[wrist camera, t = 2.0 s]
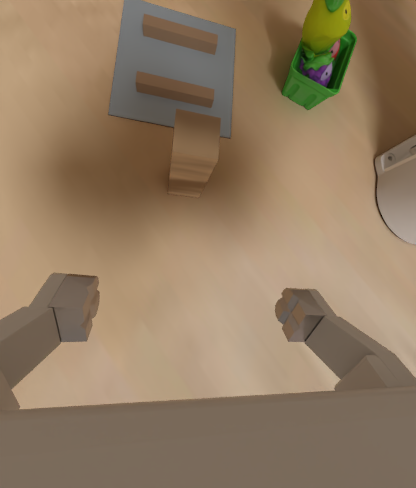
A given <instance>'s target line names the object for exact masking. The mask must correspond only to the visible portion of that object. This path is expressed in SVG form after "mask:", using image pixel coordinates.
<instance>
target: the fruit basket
mask: <svg viewBox="0 0 416 488" xmlns="http://www.w3.org/2000/svg"><path fill="white" fill-rule="evenodd" d="M350 23H351V6H350V2H349V0H314V1H313V4H312V6H311V8H310V10H309V12H308V14H307V16H306V18H305V21H304V24H303V29H302V39H301V41H300V44H299V46H298V49H297V51H296V53H295V56H294V58H293V60H292V63H291V66H290V71H289V74H288V77H287V80H286V82H285V85H284V88H283V90H282V95H284V96H286V97H287V96H288V98H289V99H290V100H292V101H294V102H296V103H297V104H299V105H301V106H304V107H305V108H306V109H307V110H309V109H311V108H313V107H314V106H316V105H317V104H319V103H321V102H322V101H324V100H325V99H327V98H329V97H332V96H334V95H336V94H337V93H339V91H340V88H341V85H342V82H343V79H344V76H345V73H346V70H347V67H348V64H349V62H350V59H351V56H352V53H353V50H354V47H355V45H356V42H357V37H356V35H355V34H354V33H353V32H352V31H350V30H349V26H350Z"/></svg>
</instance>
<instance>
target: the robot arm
mask: <svg viewBox="0 0 416 488" xmlns="http://www.w3.org/2000/svg"><path fill="white" fill-rule="evenodd" d="M375 167H376V171H377V175H378V183H377V201H378V206H379V209H380V212H381V214H382V217H383V219H384V220H385V222H386V224H387V225H388V227H389V228H390V229H391V230H392V231H393V232H394V233H395V234H396V235H397V236H398V237H399V238H401V239H402V240H404V241H406V242H408V243H411V244H415V245H416V134H415V135H414V136H412V137H410V138H409V139H407V140H405V141H403V142H402V143H400V144H398V145H397V146H395V147H393V148H391V149H390V150H388V151H386V152H384V153H383V154H381V155H379V156H378V157H376V159H375ZM98 285H99V280H98V277H97V276H89V275H78V274H62V273H53V274H51V275H50V276H49V278H48V279H47V280H46V282H45V283H44V285H43V286H42V288H41V289H40V291H39V292H38V294H37V295H36V297H35V298H34V300H33V301H32V303H31V304H30V306H29V307H22V308H21V309H19V310H17V311H15V312H14V313H12V314H10V315H8V316H7V317H5V318H3V319H1V320H0V488H416V378H415V377H414V376H413V375H412V374H411V372H410V371H409V370H408V369H407V368H406V367H405V365H404V364H403V363H402V362H401V361H400V360H399V358H398V357H397V356H396V355H395V354H394V353H392V352H391V351H390V350H388V349H387V348H385V347H384V346H382V345H381V344H379V343H378V342H376V341H375V340H373V339H372V338H370V337H369V336H368V335H366V334H365V333H363V332H362V331H360V330H359V329H357V328H356V327H354V326H353V325H351V324H350V323H348V322H347V321H346V320H344V319H343V318H341V317H337V316H336V314H335V313H334V312H333V310H332V309H331V308H330V306H329V305H328V304H327V302H326V301H325V300H324V298H323V297H322V296H321V294H320V293H319V292H318V291H317V290H315V289H297V288H286V289H284V290H283V292H282V298H281V299H279V300H278V301H277V303H276V305H275V313H276V317H277V319H278V321H280V322H281V323H282V324H283V326H282V330H283V332H284V334H285V336H286V338H287V340H288V342H305V344H306V345H307V346H308V347H309V348H310V349H311V350H312V351H313V352H314V353H315V354H316V355H317V356H318V357H319V358H320V359H321V360H322V361H323V362H324V363H325V364H326V365H327V366H328V367H329V368H330V369H331V370H332V371H333V372H334V373H335V374H336V375H337V376H338V377H339V378H340V379H341V380H340V381H339V382H338V383H337V384H336V385H335V388H334V389H335V391H320V392H303V393H286V394H269V395H252V396H235V397H219V398H202V399H185V400H169V401H152V402H135V403H119V404H102V405H85V406H68V407H52V408H35V409H19V408H20V405H19V403H18V401H17V399H16V398H15V396H14V394H13V392H12V390H11V389H12V388H13V387H14V386H16V385H17V384H18V383H19V382H20V381H21V380H22V379H23V378H24V377H25V376H26V375H27V374H28V373H30V372H31V371H32V370H33V369H34V368H35V367H36V366H37V365H38V364H39V363H40V362H41V361H42V360H44V359H45V358H46V357H47V356H48V355H49V354H50V353H51V352H52V351H53V350H54V349H55V348H56V347H58V346H59V345H60V344H61V342H82V341H87V340H88V337H89V334H90V331H91V328H92V318H94V317H95V316H96V314H97V310H98V306H99V299H100V293H99V291H98V290H97V287H98Z"/></svg>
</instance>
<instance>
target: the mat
mask: <svg viewBox="0 0 416 488" xmlns="http://www.w3.org/2000/svg"><path fill="white" fill-rule="evenodd" d="M235 36H236V29H234V28H231V27H227V26H224V25H221V24H217V23H214V22H211V21H207V20H204V19H201V18H197V17H194V16H191V15H187V14H184V13H181V12H177V11H174V10H171V9H168V8H164V7H161V6H158V5H154V4H151V3H148V2H144V1H141V0H124V6H123V13H122V20H121V28H120V35H119V42H118V49H117V56H116V63H115V70H114V78H113V85H112V92H111V99H110V106H109V113H108V114H109V115H113V116H118V117H123V118H128V119H133V120H138V121H143V122H149V123H154V124H159V125H164V126H169V127H174V124H175V114H176V109H181V110H186V111H190V112H195V113H200V114H204V115H209V116H214V117H218V118H221V125H220V137H226V138H231V119H232V98H233V77H234V57H235Z"/></svg>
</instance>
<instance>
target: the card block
mask: <svg viewBox="0 0 416 488" xmlns="http://www.w3.org/2000/svg"><path fill="white" fill-rule="evenodd" d="M220 125H221V118H218V117H214V116H209V115H204V114H200V113H195V112H190V111H186V110H181V109H176V114H175V124H174V134H173V144H172V153H171V163H170V174H169V185H168V194H173V195H180V196H188V197H195V198H199V196H200V194H201V193H202V191H203V189H204V187H205V185H206V183H207V181H208V179H209V177H210V175H211V173H212V171H213V169H214V167H215V165H216V164H217V162H218V160H219V143H220Z"/></svg>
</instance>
